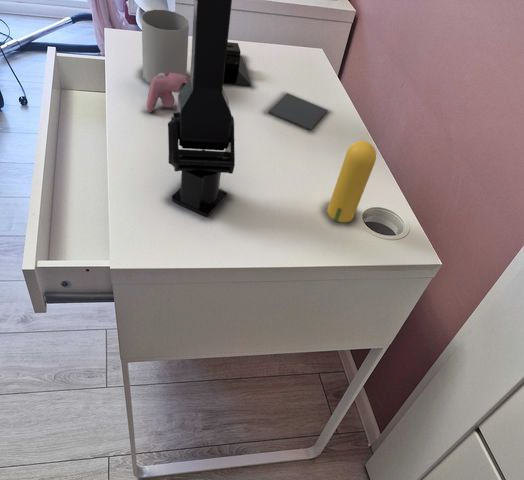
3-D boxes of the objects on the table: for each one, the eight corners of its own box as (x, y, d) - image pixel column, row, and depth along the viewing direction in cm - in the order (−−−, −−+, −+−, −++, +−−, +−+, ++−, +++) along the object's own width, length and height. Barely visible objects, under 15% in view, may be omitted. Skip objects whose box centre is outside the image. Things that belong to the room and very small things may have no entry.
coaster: (310, 130, 94) (310, 128, 94) (268, 113, 96) (268, 111, 95) (327, 111, 100) (327, 109, 99) (286, 95, 101) (287, 93, 100)
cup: (194, 78, 99) (198, 22, 91) (169, 92, 94) (170, 35, 86) (160, 61, 100) (160, 5, 92) (133, 75, 95) (131, 17, 87)
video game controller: (202, 122, 93) (207, 80, 89) (199, 123, 89) (205, 79, 85) (149, 110, 92) (153, 68, 89) (144, 111, 88) (147, 66, 85)
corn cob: (347, 226, 79) (375, 157, 69) (322, 215, 80) (346, 144, 70) (357, 211, 82) (384, 142, 72) (333, 200, 83) (357, 130, 73)
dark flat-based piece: (209, 54, 106) (211, 30, 102) (242, 57, 107) (245, 34, 104) (216, 84, 99) (218, 59, 95) (252, 87, 100) (256, 62, 97)
